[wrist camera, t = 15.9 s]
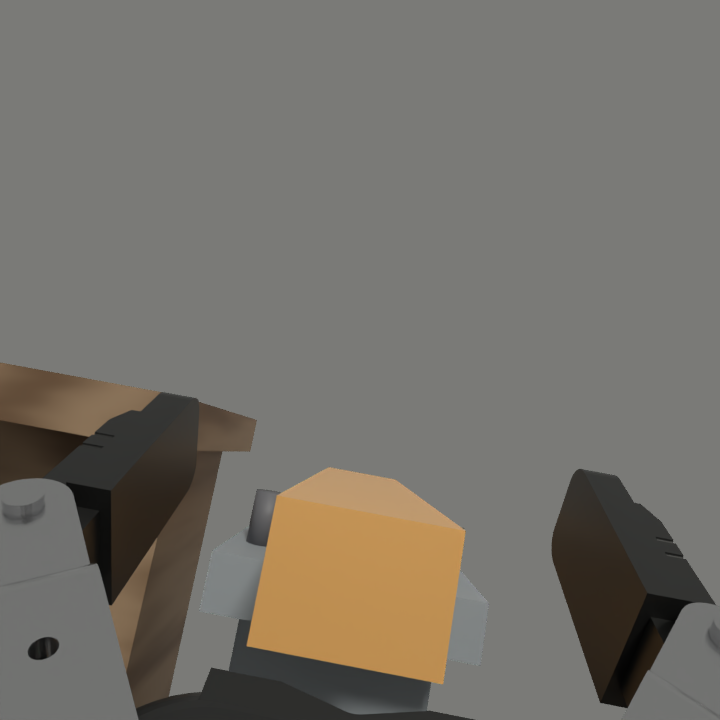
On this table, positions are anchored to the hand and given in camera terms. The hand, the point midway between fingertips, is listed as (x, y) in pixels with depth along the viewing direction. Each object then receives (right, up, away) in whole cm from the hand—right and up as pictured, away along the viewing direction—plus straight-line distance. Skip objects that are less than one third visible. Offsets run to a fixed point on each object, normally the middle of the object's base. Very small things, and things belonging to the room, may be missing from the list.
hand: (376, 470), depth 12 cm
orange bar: (-1, -6, +10) cm, 12 cm away
